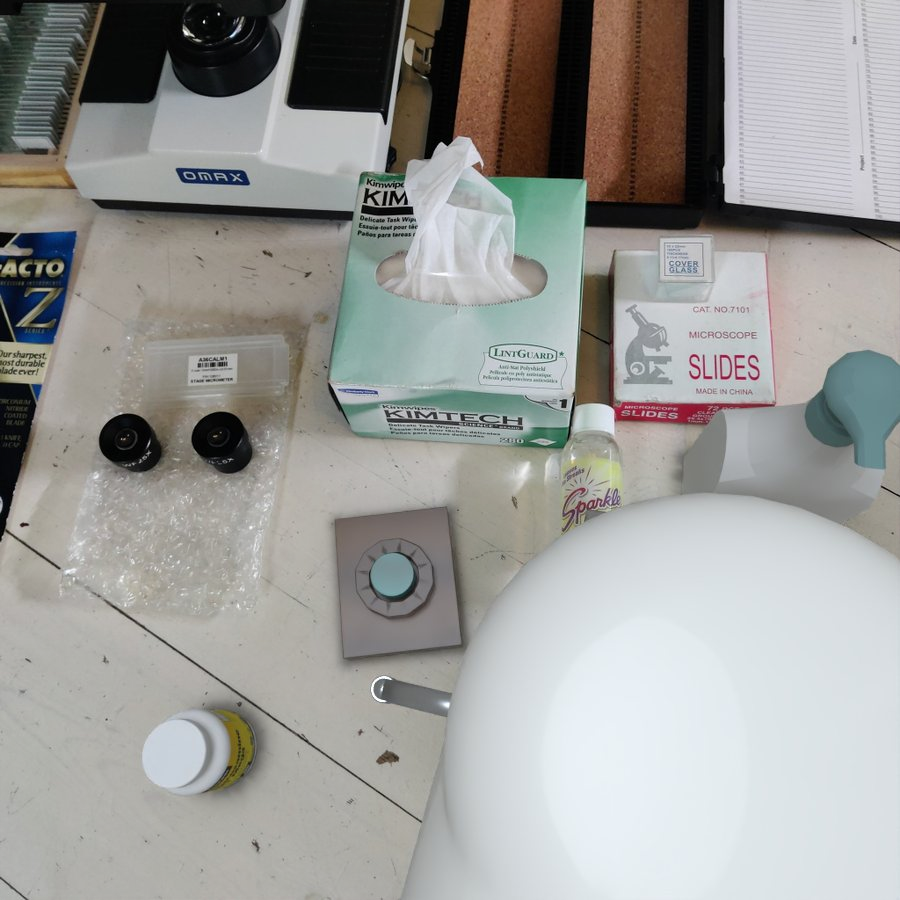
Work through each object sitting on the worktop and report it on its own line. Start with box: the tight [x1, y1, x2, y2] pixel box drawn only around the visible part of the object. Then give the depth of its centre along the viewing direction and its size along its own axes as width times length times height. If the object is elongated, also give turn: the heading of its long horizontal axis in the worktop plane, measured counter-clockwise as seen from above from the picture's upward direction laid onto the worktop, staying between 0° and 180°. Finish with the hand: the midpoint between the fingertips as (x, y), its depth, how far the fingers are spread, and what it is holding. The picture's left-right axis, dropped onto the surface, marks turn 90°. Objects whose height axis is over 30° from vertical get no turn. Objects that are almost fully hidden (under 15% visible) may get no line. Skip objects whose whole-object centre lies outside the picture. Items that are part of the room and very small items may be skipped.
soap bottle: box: [681, 349, 900, 525], centre depth 59 cm, size 11×8×27 cm
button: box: [370, 553, 416, 599], centre depth 67 cm, size 4×4×2 cm
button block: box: [334, 506, 464, 661], centre depth 70 cm, size 12×10×4 cm
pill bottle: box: [141, 708, 258, 797], centre depth 63 cm, size 6×6×11 cm
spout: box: [370, 674, 452, 718], centre depth 48 cm, size 13×4×6 cm, turn 77°
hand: (561, 737), depth 37 cm, fingers open, 9 cm apart
